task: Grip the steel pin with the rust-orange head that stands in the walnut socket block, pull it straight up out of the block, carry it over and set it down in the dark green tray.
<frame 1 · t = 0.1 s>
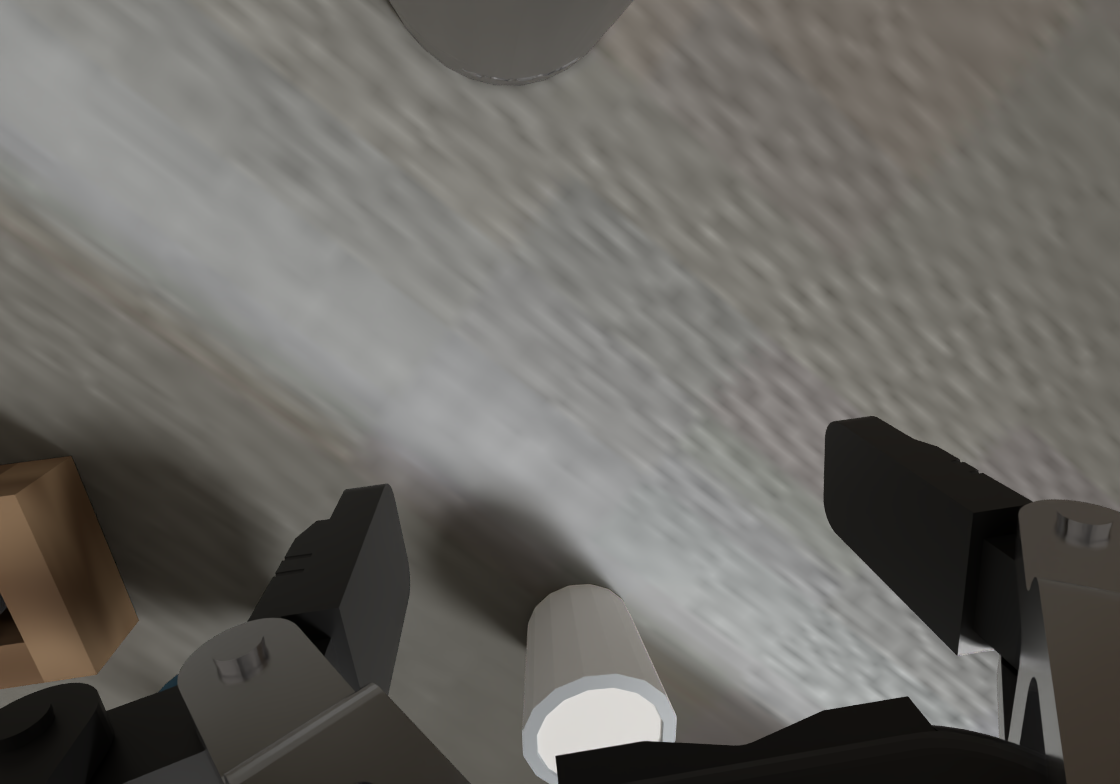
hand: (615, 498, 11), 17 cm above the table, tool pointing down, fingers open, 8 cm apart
socket block: (6, 556, 29), on the table
white cylinder: (579, 625, 34), on the table
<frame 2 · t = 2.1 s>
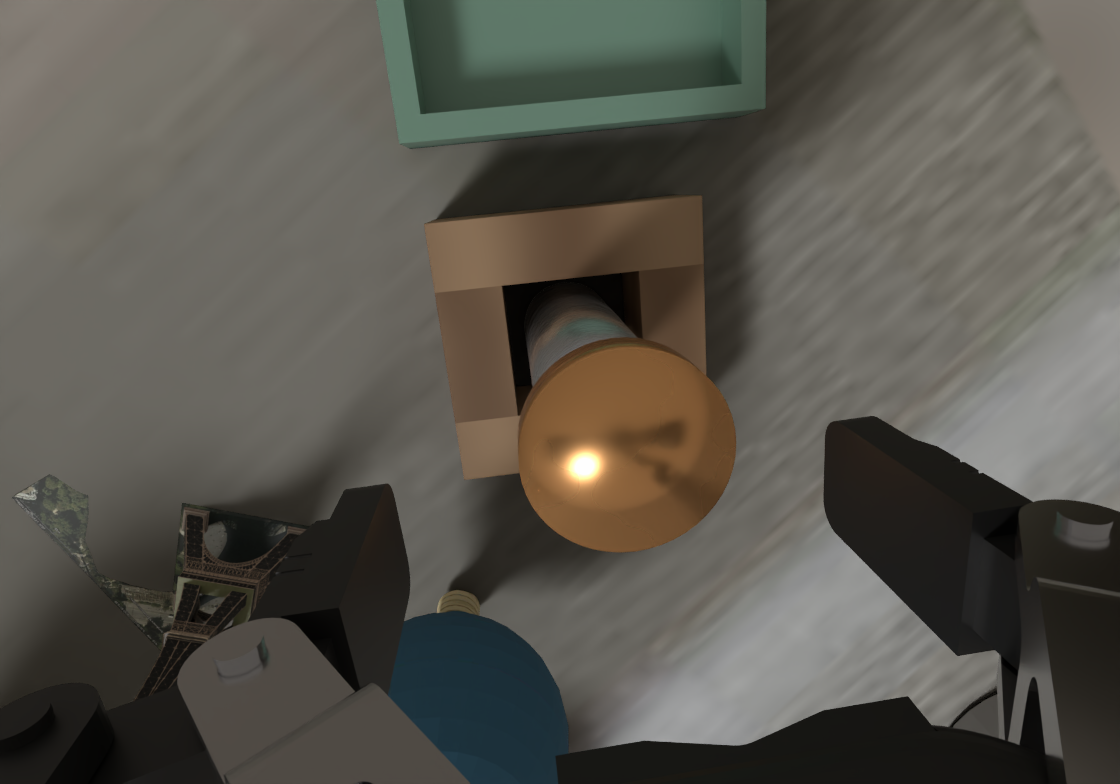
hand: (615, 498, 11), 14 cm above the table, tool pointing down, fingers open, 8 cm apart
socket block: (567, 324, 25), on the table
eiffel tower figurine: (237, 562, 28), on the table
pin: (587, 368, 19), in the socket block
light bulb: (459, 597, 29), on the table
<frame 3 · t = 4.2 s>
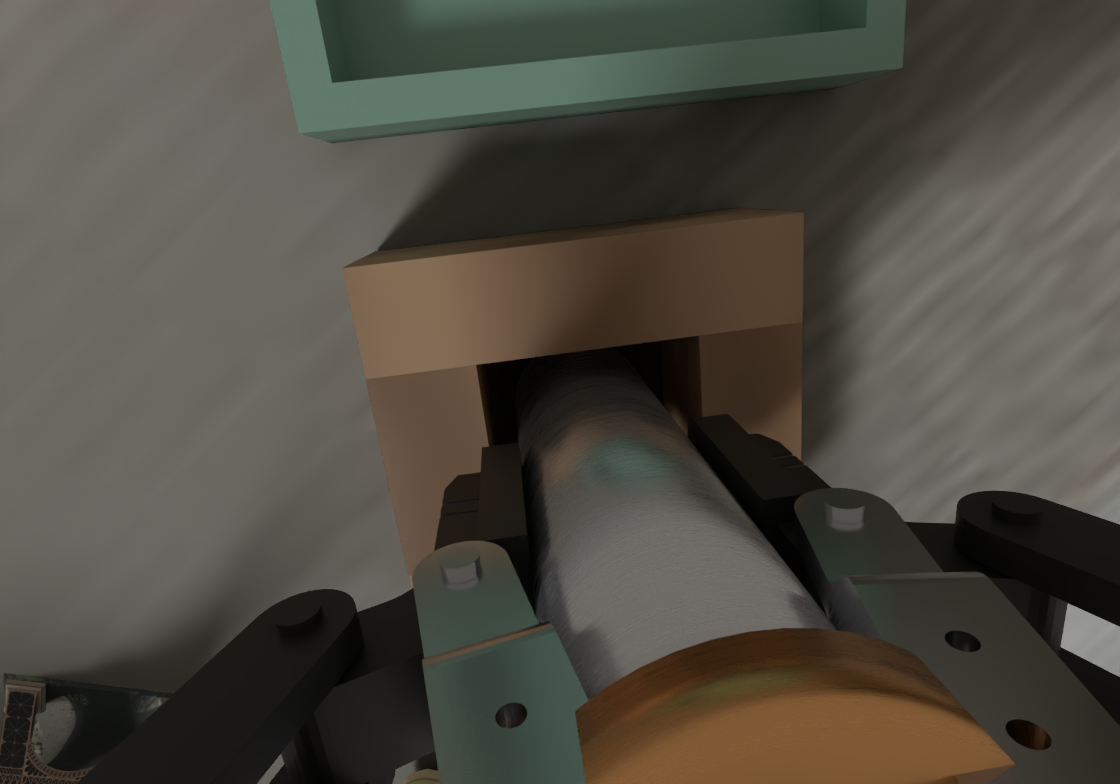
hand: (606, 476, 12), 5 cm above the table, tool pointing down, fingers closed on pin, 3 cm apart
socket block: (578, 401, 17), on the table
eiffel tower figurine: (100, 740, 20), on the table
pin: (626, 522, 11), in the socket block, touching gripper
light bulb: (432, 771, 20), on the table
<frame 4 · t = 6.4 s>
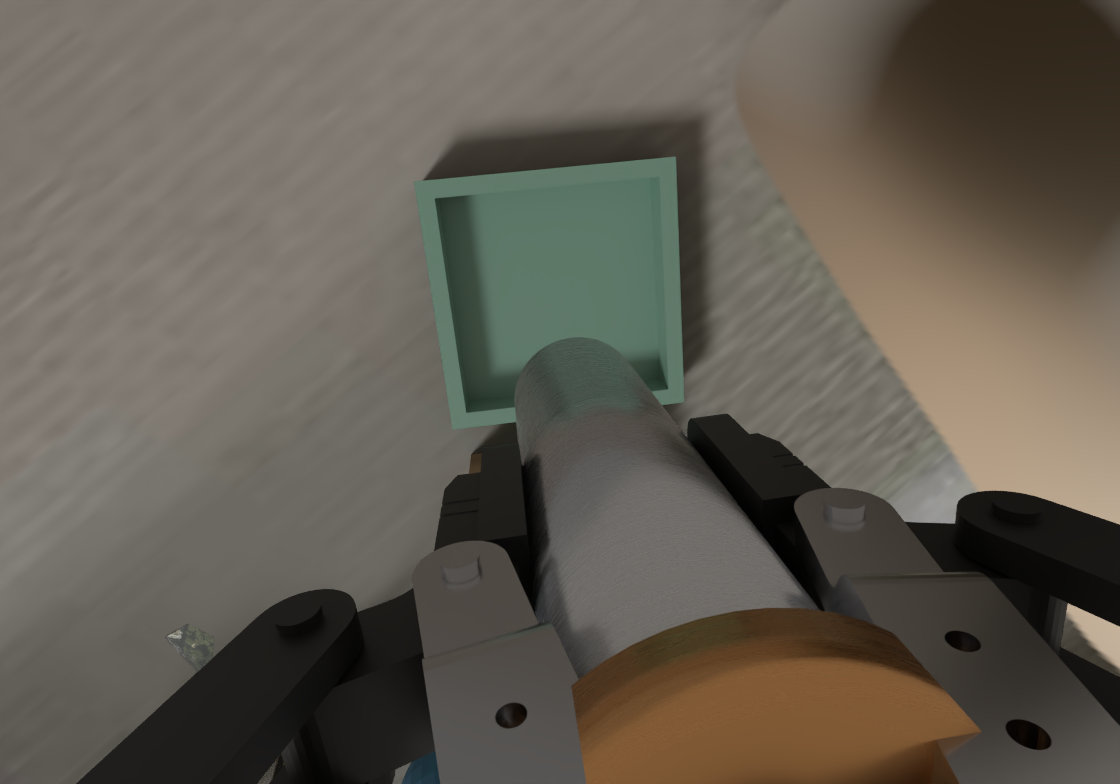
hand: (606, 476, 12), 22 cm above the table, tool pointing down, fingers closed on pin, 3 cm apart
tray: (554, 292, 33), on the table
eiffel tower figurine: (313, 674, 39), on the table
pin: (622, 515, 11), point 23 cm above the table, touching gripper
light bulb: (483, 692, 40), on the table
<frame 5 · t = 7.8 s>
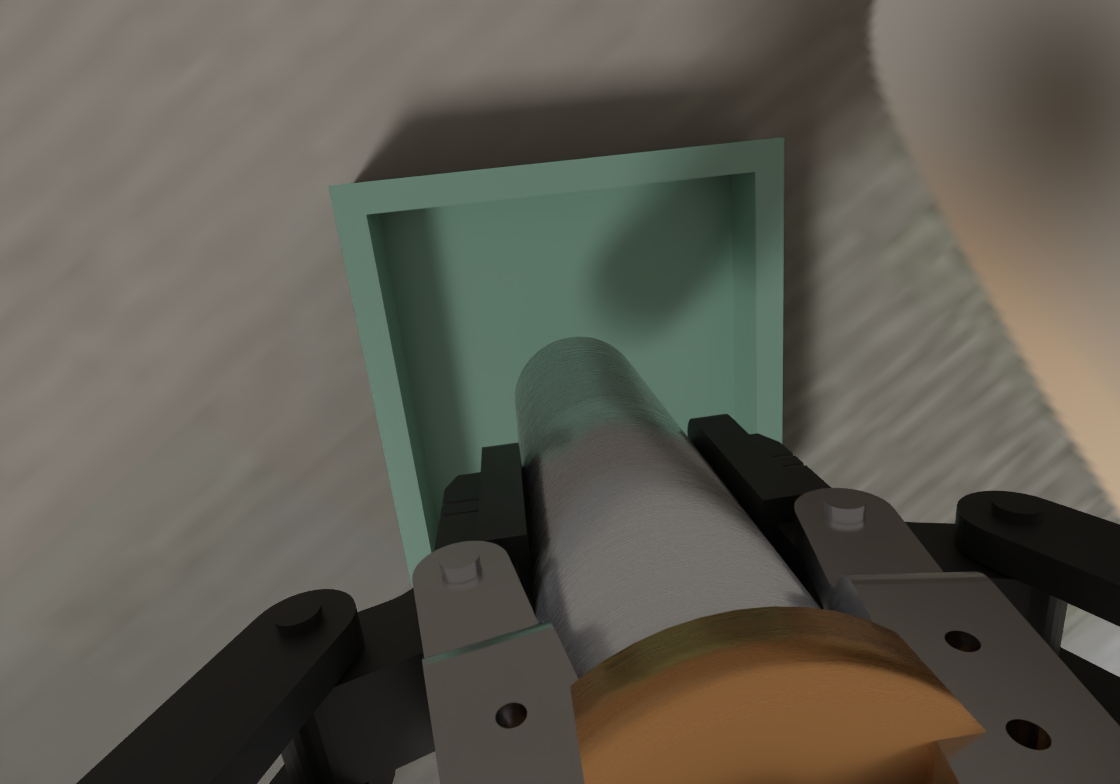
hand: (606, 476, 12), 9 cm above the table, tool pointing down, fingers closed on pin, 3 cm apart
tray: (572, 358, 21), on the table
pin: (623, 515, 11), point 10 cm above the table, touching gripper
when the fingers open (6 cm above the table, at t = 8.8 s): pin stays where it is, resting on tray.
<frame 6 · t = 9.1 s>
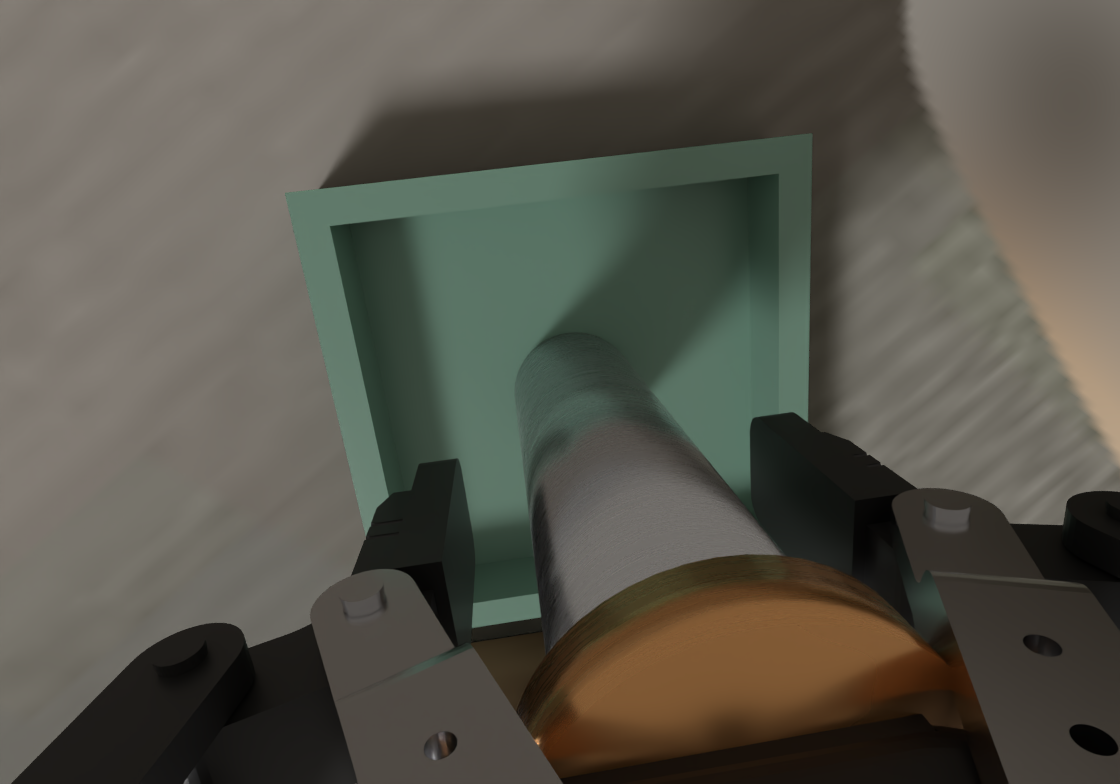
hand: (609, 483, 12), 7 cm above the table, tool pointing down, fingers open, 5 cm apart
socket block: (580, 732, 22), on the table
tray: (570, 382, 18), on the table
pin: (618, 496, 12), in the tray, point 7 cm above the table
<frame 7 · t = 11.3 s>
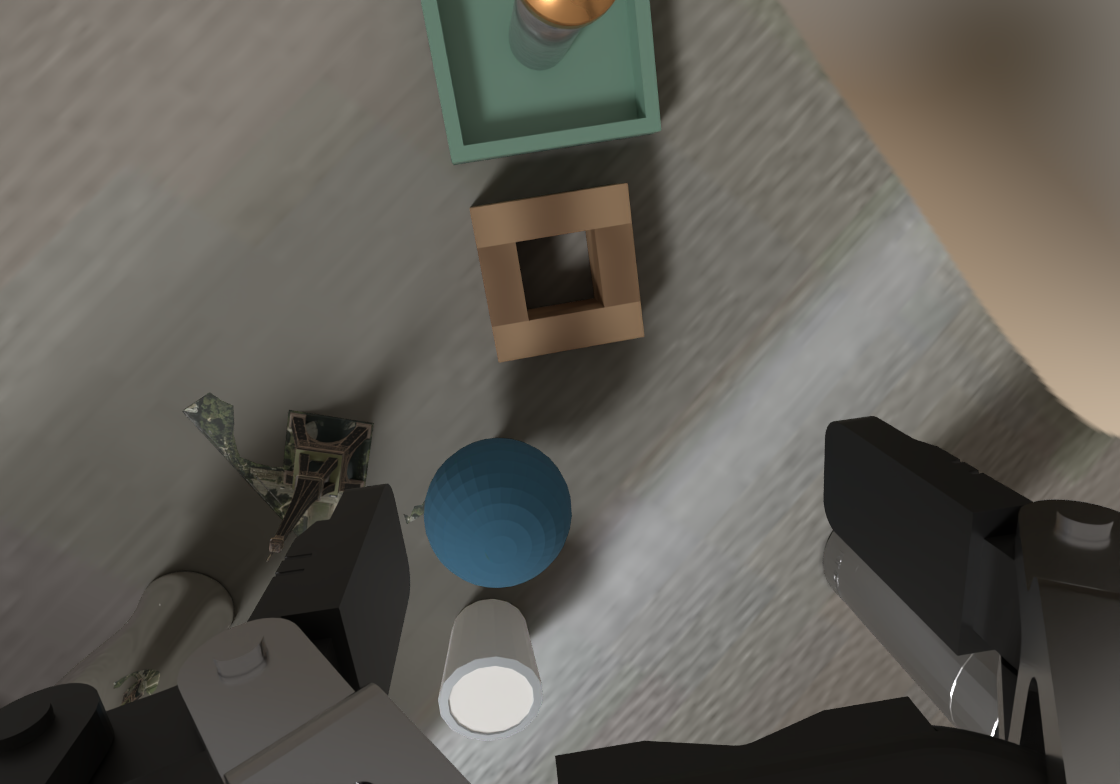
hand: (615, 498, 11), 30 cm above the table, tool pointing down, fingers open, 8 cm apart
socket block: (554, 268, 40), on the table
tray: (537, 38, 36), on the table
eiffel tower figurine: (322, 451, 43), on the table
pin: (551, 4, 29), in the tray, point 7 cm above the table
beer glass: (190, 606, 44), on the table
white cylinder: (489, 628, 48), on the table
light bulb: (495, 455, 44), on the table
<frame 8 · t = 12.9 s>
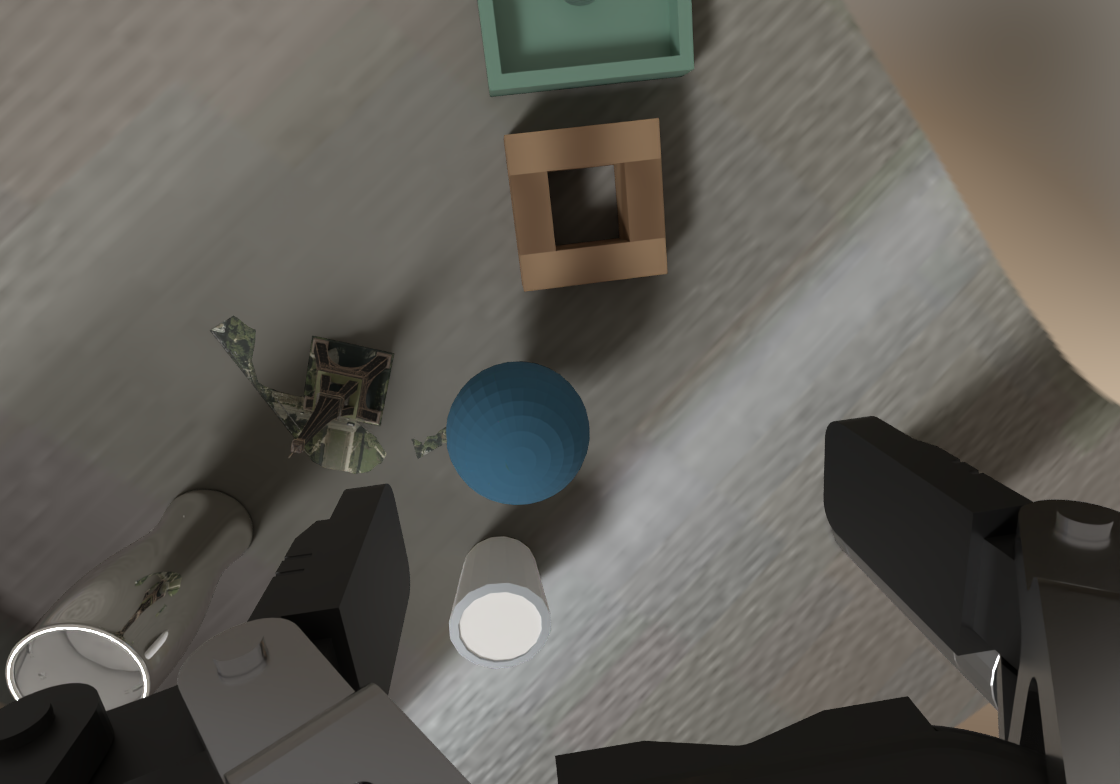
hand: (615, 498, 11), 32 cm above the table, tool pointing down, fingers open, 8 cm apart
socket block: (582, 206, 41), on the table
eiffel tower figurine: (342, 380, 44), on the table
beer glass: (210, 525, 45), on the table
white cylinder: (499, 566, 49), on the table
light bulb: (514, 391, 44), on the table
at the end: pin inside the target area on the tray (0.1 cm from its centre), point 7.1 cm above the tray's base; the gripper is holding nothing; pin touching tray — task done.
